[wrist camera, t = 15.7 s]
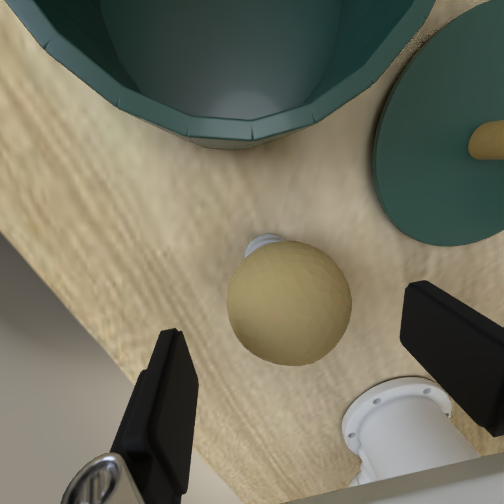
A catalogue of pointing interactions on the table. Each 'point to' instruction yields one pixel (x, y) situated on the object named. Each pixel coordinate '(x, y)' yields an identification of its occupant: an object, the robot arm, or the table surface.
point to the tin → (225, 58)
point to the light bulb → (288, 301)
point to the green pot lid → (447, 135)
